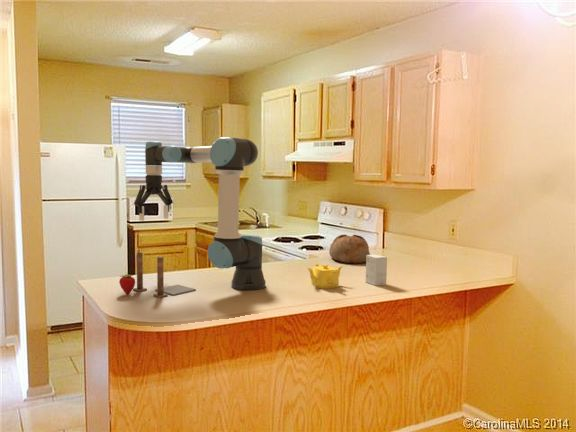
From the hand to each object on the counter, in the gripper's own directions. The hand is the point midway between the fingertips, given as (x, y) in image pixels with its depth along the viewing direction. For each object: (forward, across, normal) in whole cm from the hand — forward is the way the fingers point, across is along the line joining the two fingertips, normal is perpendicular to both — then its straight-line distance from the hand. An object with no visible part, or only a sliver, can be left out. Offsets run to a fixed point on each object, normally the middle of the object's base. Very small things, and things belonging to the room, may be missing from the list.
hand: (154, 219), depth 238 cm
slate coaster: (+27, +11, +31) cm, 43 cm away
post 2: (+27, +21, +34) cm, 48 cm away
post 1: (+27, +22, +20) cm, 40 cm away
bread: (+28, -104, +44) cm, 116 cm away
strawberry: (+27, +29, +23) cm, 46 cm away
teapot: (+27, -41, +71) cm, 87 cm away
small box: (+27, -62, +86) cm, 109 cm away
